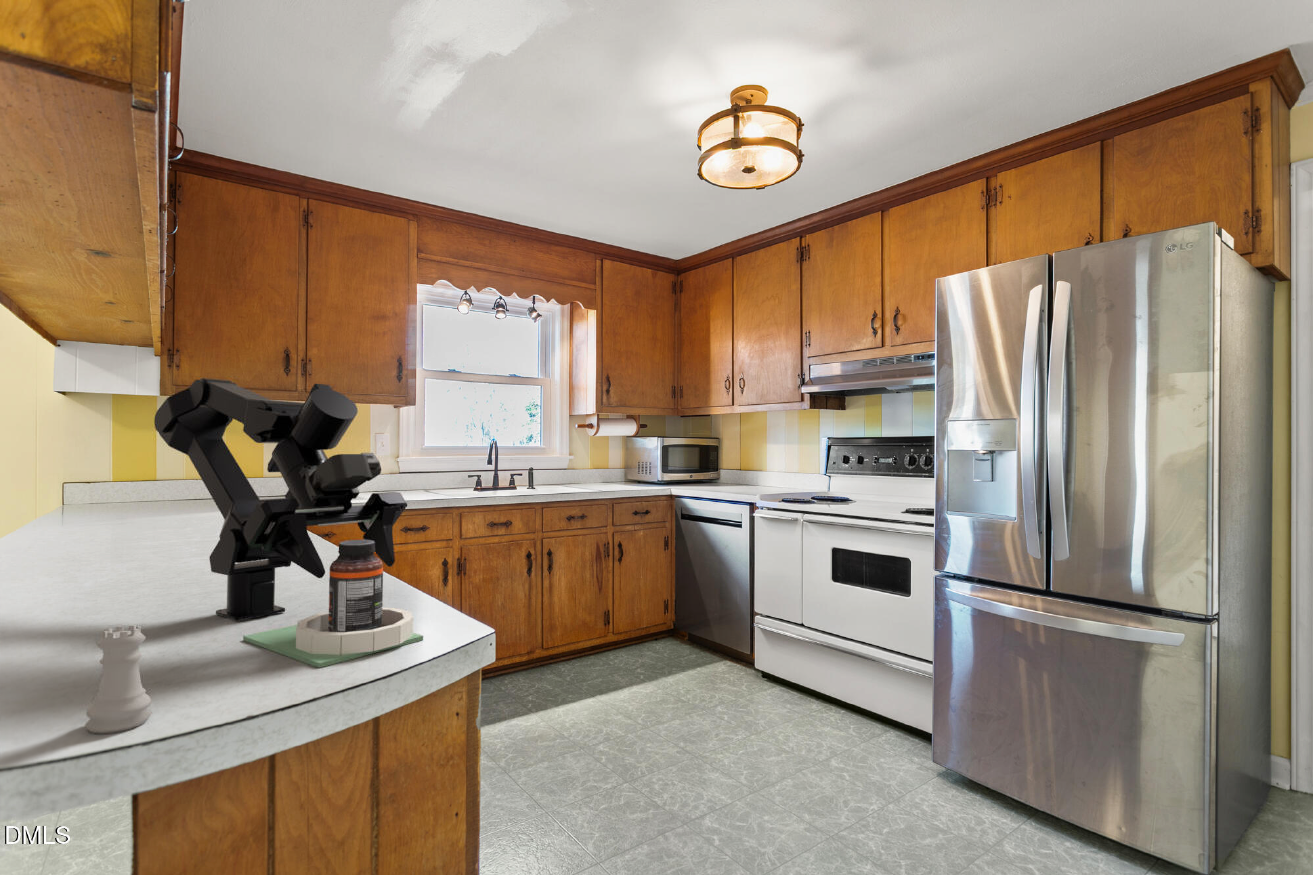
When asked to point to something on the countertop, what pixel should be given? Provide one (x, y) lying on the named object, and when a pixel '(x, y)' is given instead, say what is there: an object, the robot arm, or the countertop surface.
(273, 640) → the putting mat
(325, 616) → the round cream tray
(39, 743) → the countertop surface
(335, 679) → the countertop surface
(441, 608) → the countertop surface
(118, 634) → the rook chess piece
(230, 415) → the robot arm
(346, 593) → the supplement bottle
